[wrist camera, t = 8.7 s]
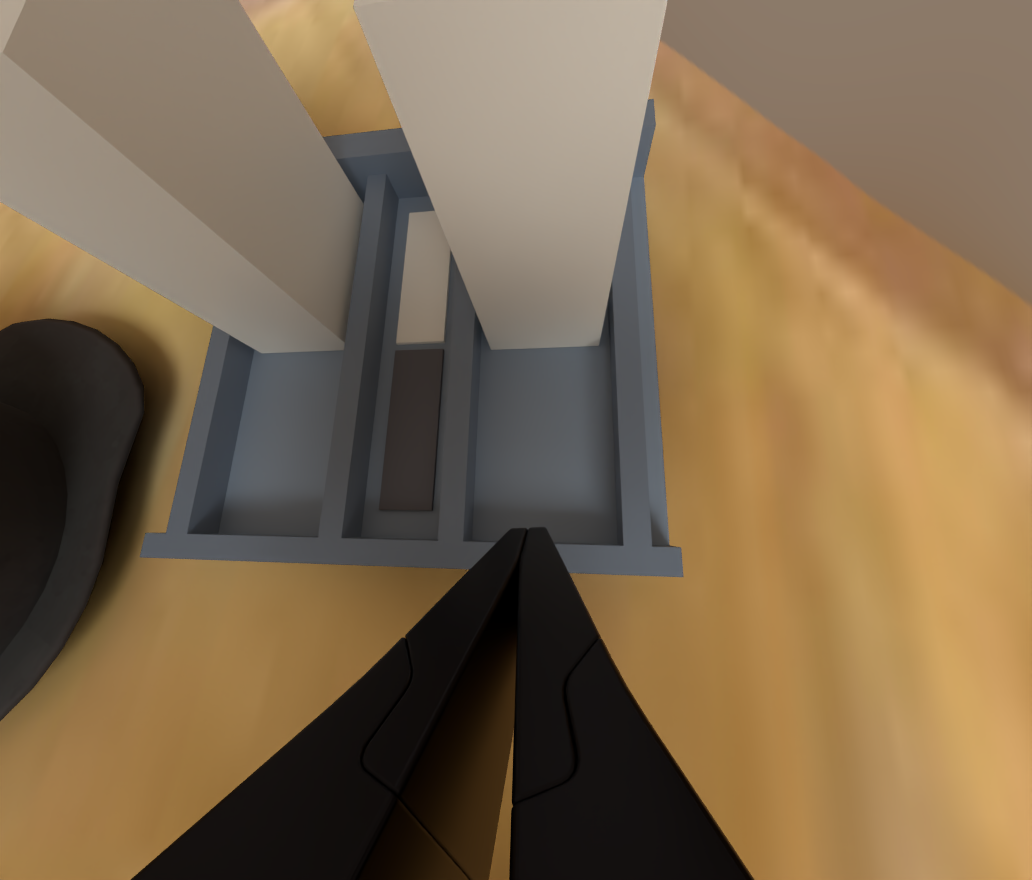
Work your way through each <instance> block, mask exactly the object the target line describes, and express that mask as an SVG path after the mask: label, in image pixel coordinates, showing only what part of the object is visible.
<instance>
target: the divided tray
mask: <svg viewBox="0 0 1032 880" xmlns="http://www.w3.org/2000/svg"><path fill="white" fill-rule="evenodd" d="M655 126H656V123H655V111H654V99H649V100H648V101H647V106H646V111H645V116H644V121H643V126H642V131H641V136H640V142H639V147H638V152H637V157H636V162H635V167H634V172H633V177H632V182H631V187H630V192H629V197H628V202H627V207H626V212H625V217H624V222H623V227H622V232H621V237H620V242H619V247H618V252H617V257H616V262H615V267H614V272H613V277H612V282H611V287H610V292H609V297H608V302H607V307H606V312H605V317H604V322H603V327H602V332H601V337H600V343H599V346H582V347H555V348H528V349H502V350H491V348H490V346H489V343H488V341H487V339H486V336H485V334H484V331H483V329H482V326H481V324H480V321H479V319H478V316H477V314H476V311H475V309H474V306H473V304H472V301H471V299H470V296H469V294H468V291H467V289H466V286H465V284H464V281H463V279H462V276H461V274H460V271H459V269H458V266H457V264H456V261H455V259H454V256H453V254H452V251H451V249H450V246H449V244H448V241H447V239H446V236H445V234H444V231H443V229H442V226H441V224H440V222H439V219H438V217H437V214H436V212H435V209H434V207H433V204H432V202H431V199H430V197H429V194H428V192H427V189H426V187H425V184H424V182H423V179H422V177H421V174H420V172H419V169H418V167H417V164H416V162H415V159H414V157H413V154H412V152H411V149H410V147H409V144H408V142H407V139H406V137H405V134H404V132H403V129H402V128H397V129H388V130H379V131H371V132H362V133H353V134H345V135H336V136H327V137H323V139H324V140H325V142H326V144H327V145H328V147H329V149H330V150H331V152H332V153H333V155H334V157H335V158H336V160H337V162H338V163H339V165H340V166H341V168H342V170H343V171H344V173H345V175H346V176H347V178H348V180H349V181H350V183H351V184H352V186H353V188H354V189H355V191H356V193H357V194H358V196H359V197H360V199H361V201H362V202H363V204H364V207H363V215H362V222H361V229H360V236H359V244H358V251H357V258H356V265H355V273H354V280H353V287H352V295H351V302H350V309H349V316H348V324H347V331H346V338H345V345H344V350H337V351H311V352H286V353H260V352H258V351H257V350H255V349H253V348H251V347H250V346H248V345H246V344H245V343H243V342H241V341H239V340H238V339H236V338H234V337H232V336H231V335H229V334H227V333H226V332H224V331H222V330H220V329H219V328H217V327H215V326H213V329H212V334H211V338H210V343H209V347H208V351H207V356H206V360H205V364H204V369H203V373H202V378H201V382H200V386H199V391H198V395H197V399H196V404H195V408H194V413H193V417H192V421H191V426H190V430H189V435H188V439H187V443H186V448H185V452H184V456H183V461H182V465H181V470H180V474H179V478H178V483H177V487H176V491H175V496H174V500H173V505H172V509H171V513H170V518H169V522H168V527H167V531H166V533H145V537H144V541H143V545H142V550H141V554H140V557H147V558H175V559H202V560H229V561H257V562H284V563H311V564H339V565H366V566H393V567H421V568H448V569H471V568H472V567H473V566H474V565H475V564H476V563H477V562H478V561H479V560H480V559H481V558H482V557H483V556H484V555H485V554H486V553H487V552H488V551H489V550H490V549H491V547H492V546H493V545H494V544H495V543H496V542H497V541H498V540H499V539H500V538H501V537H502V536H503V535H504V534H505V533H506V532H507V531H508V530H510V529H511V528H527V529H529V528H531V527H546V528H547V530H548V532H549V534H550V536H551V538H552V540H553V542H554V544H555V546H556V548H557V550H558V552H559V554H560V556H561V558H562V560H563V562H564V564H565V566H566V568H567V570H568V572H569V573H585V574H612V575H639V576H667V577H683V566H682V553H681V547H675V546H669V532H668V518H667V503H666V489H665V475H664V460H663V446H662V432H661V417H660V403H659V389H658V374H657V360H656V346H655V331H654V317H653V303H652V288H651V274H650V260H649V245H648V231H647V217H646V202H645V188H644V173H645V169H646V165H647V160H648V156H649V152H650V147H651V143H652V139H653V134H654V130H655Z"/></svg>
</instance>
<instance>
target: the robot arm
mask: <svg viewBox="0 0 1032 880" xmlns="http://www.w3.org/2000/svg"><path fill="white" fill-rule="evenodd" d="M405 637H406V639H405V638H401V639H400V640H399V641H398V642H397V643H396V644H395V645H394V646H393V647H392V648H391V649H390V650H389V651H388V652H387V653H386V654H385V655H384V656H383V657H382V658H381V659H380V660H379V661H378V662H377V663H376V664H375V665H374V666H373V667H372V668H371V669H370V670H369V671H368V672H367V673H366V674H365V675H364V676H363V677H362V678H361V679H359V680H358V681H357V682H356V683H355V684H354V685H353V686H352V687H351V688H349V689H348V690H347V691H346V692H345V693H344V694H343V695H342V696H341V697H339V698H338V699H337V700H336V701H335V702H334V703H333V704H332V705H331V706H329V707H328V708H327V709H326V710H325V711H324V712H323V713H321V714H320V715H319V716H318V717H317V718H316V719H315V720H313V721H312V722H311V723H310V724H309V725H308V726H307V727H305V728H304V729H303V730H302V731H301V732H300V733H298V734H297V735H296V736H295V737H294V738H293V739H292V740H290V741H289V742H288V743H287V744H286V745H285V746H284V747H282V748H281V749H280V750H279V751H278V752H277V753H276V754H274V755H273V756H272V757H271V758H270V759H269V760H267V761H266V762H265V763H264V764H263V765H262V766H261V767H259V768H258V769H257V770H256V771H255V772H254V773H253V774H251V775H250V776H249V777H248V778H247V779H246V780H245V781H243V782H242V783H241V784H240V785H239V786H238V787H236V788H235V789H234V790H233V791H232V792H231V793H230V794H228V795H227V796H226V797H225V798H224V799H223V800H222V801H220V802H219V803H218V804H217V805H216V806H215V807H214V808H212V809H211V810H210V811H209V812H208V813H207V814H205V815H204V816H203V817H202V818H201V819H200V820H199V821H197V822H196V823H195V824H194V825H193V826H192V827H191V828H189V829H188V830H187V831H186V832H185V833H184V834H183V835H181V836H180V837H179V838H178V839H177V840H176V841H174V842H173V843H172V844H171V845H170V846H169V847H168V848H166V849H165V850H164V851H163V852H162V853H161V854H160V855H158V856H157V857H156V858H155V859H154V860H153V861H152V862H150V863H149V864H148V865H147V866H146V867H145V868H143V869H142V870H141V871H140V872H139V873H138V874H137V875H135V876H134V877H133V878H132V879H131V880H489V874H490V868H491V862H492V856H493V850H494V844H495V838H496V832H497V826H498V820H499V814H500V808H501V802H502V796H503V790H504V784H505V778H506V772H507V766H508V760H509V754H510V748H511V742H512V736H513V730H514V746H513V781H512V805H513V807H512V811H511V842H510V877H509V880H754V878H753V877H752V875H751V874H750V872H749V871H748V869H747V868H746V866H745V865H744V863H743V862H742V860H741V859H740V857H739V856H738V854H737V853H736V851H735V850H734V848H733V847H732V845H731V844H730V842H729V841H728V839H727V838H726V836H725V835H724V833H723V832H722V830H721V829H720V827H719V826H718V824H717V823H716V821H715V820H714V818H713V817H712V815H711V814H710V812H709V811H708V809H707V808H706V806H705V805H704V803H703V802H702V800H701V799H700V797H699V796H698V794H697V793H696V791H695V790H694V788H693V787H692V785H691V784H690V782H689V781H688V779H687V778H686V776H685V775H684V773H683V772H682V770H681V769H680V767H679V766H678V764H677V763H676V761H675V760H674V758H673V757H672V755H671V754H670V752H669V751H668V749H667V748H666V746H665V745H664V743H663V742H662V740H661V739H660V737H659V736H658V734H657V733H656V731H655V730H654V728H653V727H652V725H651V724H650V722H649V721H648V719H647V717H646V716H645V714H644V713H643V711H642V709H641V708H640V706H639V705H638V703H637V701H636V700H635V698H634V697H633V695H632V693H631V692H630V690H629V689H628V687H627V685H626V683H625V681H624V680H623V678H622V676H621V674H620V672H619V670H618V669H617V667H616V665H615V663H614V661H613V659H612V658H611V656H610V654H609V652H608V650H607V647H606V645H605V643H604V641H603V640H602V639H601V637H600V635H599V633H598V631H597V629H596V627H595V624H594V622H593V620H592V618H591V616H590V614H589V612H588V610H587V608H586V606H585V604H584V602H583V600H582V598H581V596H580V594H579V592H578V590H577V588H576V586H575V584H574V582H573V580H572V578H571V576H570V574H569V572H568V570H567V568H566V566H565V564H564V562H563V560H562V558H561V556H560V554H559V552H558V550H557V548H556V546H555V544H554V542H553V540H552V538H551V536H550V534H549V532H548V530H547V528H546V527H531V528H529V529H527V528H511V529H510V530H508V531H507V532H506V533H505V534H504V535H503V536H502V537H501V538H500V539H499V540H498V541H497V542H496V543H495V544H494V545H493V546H492V547H491V549H490V550H489V551H488V552H487V553H486V554H485V555H484V556H483V557H482V558H481V559H480V560H479V561H478V562H477V563H476V564H475V565H474V566H473V567H472V568H471V569H470V570H469V571H468V572H467V573H466V574H465V575H464V576H463V577H462V578H461V579H460V580H459V581H458V582H457V583H456V584H455V585H454V586H453V587H452V588H451V589H450V590H449V591H448V592H447V593H446V594H445V595H444V596H443V597H442V598H441V599H440V600H439V601H438V602H437V603H436V604H435V605H434V606H433V607H432V609H431V610H430V611H429V612H428V613H427V614H426V615H425V616H424V617H423V618H422V619H421V620H420V621H419V622H418V623H417V624H416V625H415V626H414V627H413V628H412V629H411V630H410V631H409V632H408V633H407V634H406V636H405Z"/></svg>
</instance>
